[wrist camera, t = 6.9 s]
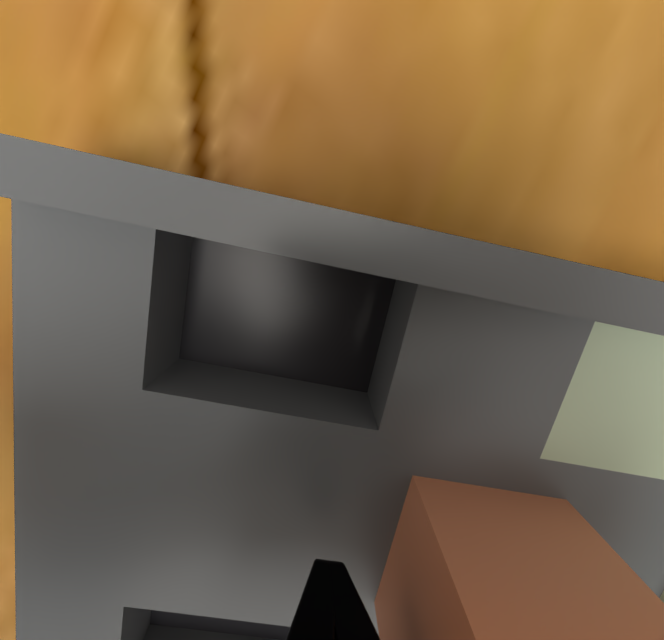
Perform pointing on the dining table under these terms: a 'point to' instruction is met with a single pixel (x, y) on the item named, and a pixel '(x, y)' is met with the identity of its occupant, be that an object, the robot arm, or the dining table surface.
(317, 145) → the dining table surface
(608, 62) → the dining table surface
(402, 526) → the block
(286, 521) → the box
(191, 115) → the dining table surface
